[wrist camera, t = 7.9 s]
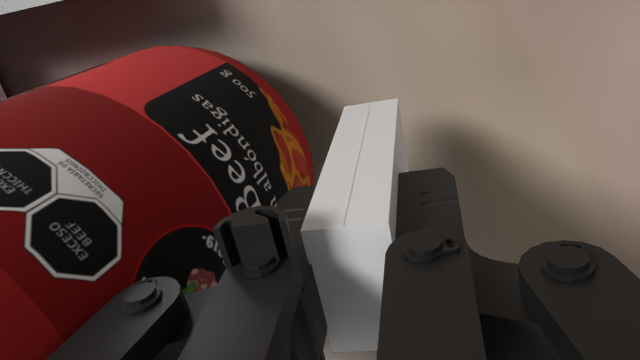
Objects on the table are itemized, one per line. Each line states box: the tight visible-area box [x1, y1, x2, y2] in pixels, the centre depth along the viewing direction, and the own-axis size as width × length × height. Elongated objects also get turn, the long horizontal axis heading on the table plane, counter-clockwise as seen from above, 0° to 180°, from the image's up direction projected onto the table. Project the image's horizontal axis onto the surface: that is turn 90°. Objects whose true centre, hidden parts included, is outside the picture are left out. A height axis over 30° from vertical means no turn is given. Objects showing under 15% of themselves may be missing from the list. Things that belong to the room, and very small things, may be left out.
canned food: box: [0, 46, 314, 360], centre depth 13 cm, size 8×8×11 cm
